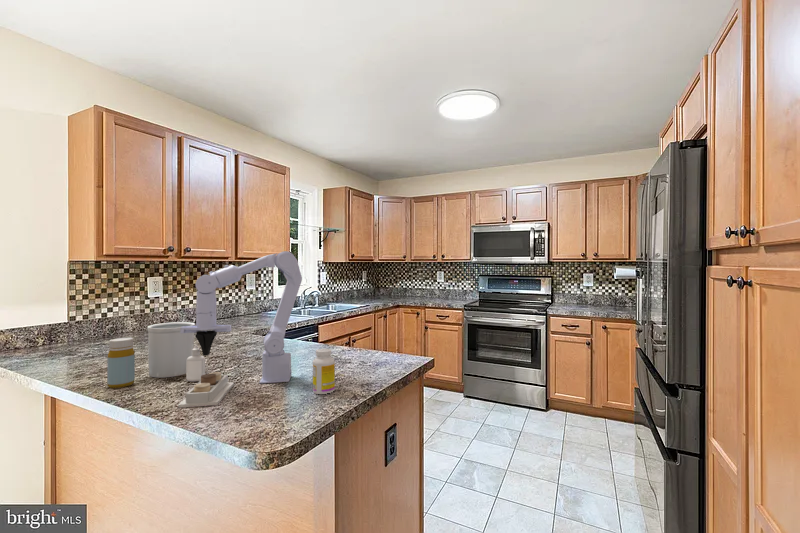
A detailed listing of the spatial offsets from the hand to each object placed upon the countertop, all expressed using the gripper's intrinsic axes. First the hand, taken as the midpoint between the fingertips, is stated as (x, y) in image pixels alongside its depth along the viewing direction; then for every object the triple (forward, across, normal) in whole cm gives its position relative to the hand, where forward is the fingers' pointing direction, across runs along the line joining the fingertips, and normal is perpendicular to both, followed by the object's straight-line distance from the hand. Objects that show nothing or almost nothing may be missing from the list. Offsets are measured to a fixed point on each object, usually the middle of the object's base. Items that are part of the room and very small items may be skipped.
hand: (206, 354), depth 116 cm
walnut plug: (+9, -3, +8) cm, 12 cm away
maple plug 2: (+10, -3, +3) cm, 10 cm away
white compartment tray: (+10, -3, +8) cm, 13 cm away
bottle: (+11, +28, -8) cm, 31 cm away
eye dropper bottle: (+11, +6, -9) cm, 15 cm away
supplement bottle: (+11, -37, +12) cm, 40 cm away
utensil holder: (+11, +18, -21) cm, 30 cm away
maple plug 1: (+10, -3, +13) cm, 17 cm away
